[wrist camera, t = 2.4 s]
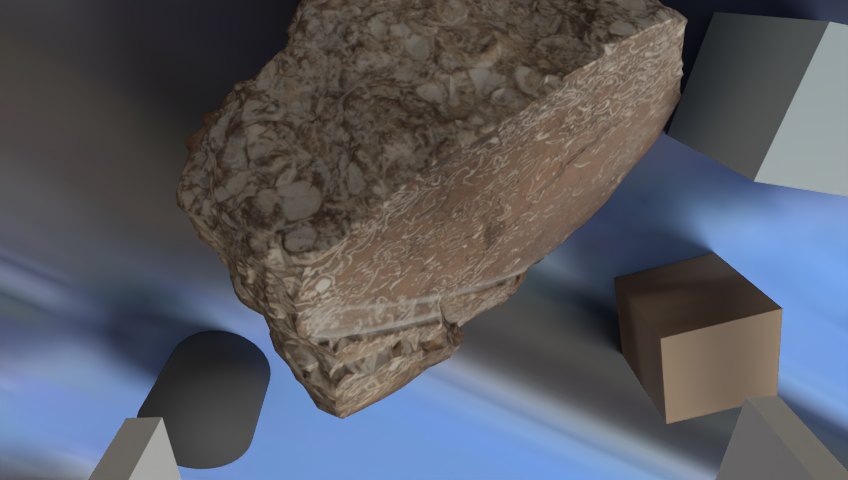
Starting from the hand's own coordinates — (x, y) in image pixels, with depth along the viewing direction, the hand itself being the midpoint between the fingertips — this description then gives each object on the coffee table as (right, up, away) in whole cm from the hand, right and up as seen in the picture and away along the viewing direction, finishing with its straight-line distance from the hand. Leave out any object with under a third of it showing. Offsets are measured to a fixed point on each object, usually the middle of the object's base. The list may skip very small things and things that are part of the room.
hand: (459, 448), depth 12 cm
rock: (0, +6, +11) cm, 12 cm away
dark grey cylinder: (-11, -2, +15) cm, 19 cm away
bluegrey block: (+13, +11, +10) cm, 20 cm away
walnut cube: (+12, +2, +15) cm, 19 cm away
